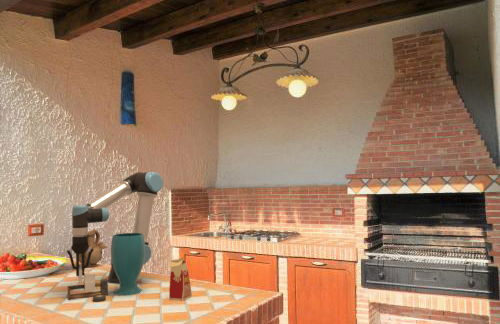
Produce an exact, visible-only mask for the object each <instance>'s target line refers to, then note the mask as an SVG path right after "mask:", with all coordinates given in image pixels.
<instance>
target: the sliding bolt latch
mask: <svg viewBox="0 0 500 324" xmlns="http://www.w3.org/2000/svg"><path fill="white" fill-rule="evenodd" d="M99 281H100V282H95V288H100V290H95V291H86V292H79V293H71V291H73V290H81V289H83V290H84V288H85V284H84V283H83V284H77V285H69V286H67V295H66V296H67V300H68V301H70V300H79V299H86V298H87V299H88V298H93V296H95V295H106V296H109V282H108V278H103V279H100V280H99Z"/></svg>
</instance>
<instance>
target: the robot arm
mask: <svg viewBox="0 0 500 324" xmlns="http://www.w3.org/2000/svg"><path fill="white" fill-rule="evenodd" d="M163 187H164V181H163V177H162V176H161V174H159V173H158V172H155V171H146V172H145V171H144V172H143V171H141V172H135V173H132V174H130V175H129V176H127V177H125V178H124V179H122V180H121V181H120V182H119V184H118V185H116V186H114V187H113V188H111V189H109V190H108V191H106V192H104V193H103V194H101V195H100V196H97V198H95V199H93V200H91V201H90V202H89V203H87V204H86V203H85V204H82V205H79V204H78V205H74V206H73V207H72V211H71V213H72V214H71V217H72V218H71V219H72V221H71V222H72V224H71V225H72V227H71V228H72V233H71V235H72V236H71V238H72V239H71V240H72V242H71V244H72V245H71V247H70V248H69V249H67V250H66V253H67V254H68V256H69V260H70V265H71V268H72V269H73V270H75V275H76V277H77V278H78V283H79V284H82V283H83V277H84V273H85V270H86V269H87V268H89V267H88V265H89V261H90V257H91V253H92V252H93V248H90V247H89V245H88V236H87V235H88V232H89V224H92V223H95V224H96V223H103V222H107V221H108V220H109V218H110V212H109V210H108V209H109V208H108V207H109V206H112V205H113V204H115V203H116V202H118V201H119V200H121V199H123V197H125V196H130V195H131V194H134V193H137V195H138V201H137V208H136V212H135V217H134V224H133V229H132V233H141V234H143V235H144V240H145V259H144V263H143V266H144V265H146V264H147V263H148V262H149V261H150V259H151V257H152V248H151V247H150V246H149V245H150V242H149V239H148V235H149V229H150V224H151V223H150V222H151V217H152V212H153V207H154V206H153V205H154V199H155V198H157V196H158V192H159V191H161V190H162V189H163ZM87 250H88V251H89V253H88V256H87V260H86V264H85V266H84V255H85V252H86V251H87ZM72 253H75V262H74V257H73V254H72ZM79 254H81V263H80V262H79ZM110 260H111V261H110V265H111V267H110V270H109V274H108V276H107V277H108V278H107V280H108V283H111V284H120V281H119V279H118V277H117V275H116V273H115V270H114V268H113V264H112V259H111V258H110ZM80 264H81V267H80Z"/></svg>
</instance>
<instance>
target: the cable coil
mask: <svg viewBox="0 0 500 324" xmlns="http://www.w3.org/2000/svg"><path fill="white" fill-rule="evenodd" d="M106 300H107V295H95V296H93V297H92V302H95V303H101V302H106Z"/></svg>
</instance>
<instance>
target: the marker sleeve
mask: <svg viewBox="0 0 500 324" xmlns="http://www.w3.org/2000/svg"><path fill="white" fill-rule="evenodd" d="M95 283H96V273H95V272H86V273H85V272H84V276H83V285H84V284H85V288H83V291H84V293H86V292H95V291H96V287H95Z"/></svg>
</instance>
